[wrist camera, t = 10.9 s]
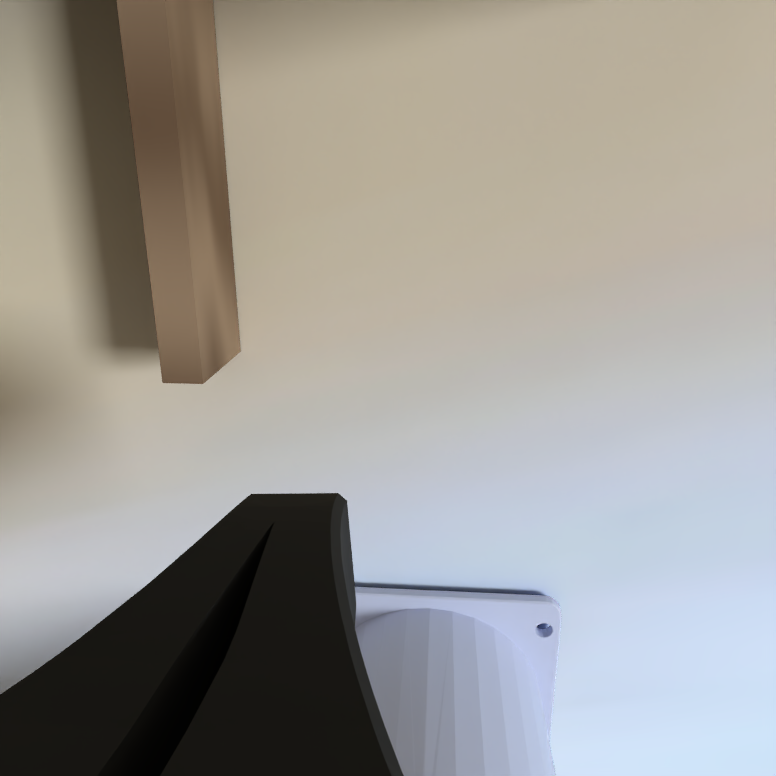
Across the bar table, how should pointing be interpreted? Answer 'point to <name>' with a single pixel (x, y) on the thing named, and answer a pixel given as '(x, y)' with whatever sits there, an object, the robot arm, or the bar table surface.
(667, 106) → the bar table surface
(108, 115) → the bar table surface
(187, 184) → the display bay
